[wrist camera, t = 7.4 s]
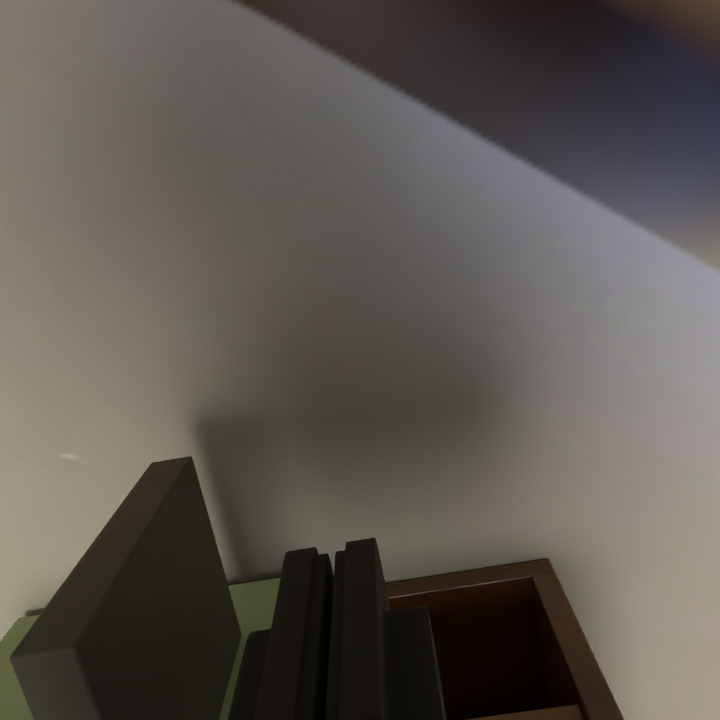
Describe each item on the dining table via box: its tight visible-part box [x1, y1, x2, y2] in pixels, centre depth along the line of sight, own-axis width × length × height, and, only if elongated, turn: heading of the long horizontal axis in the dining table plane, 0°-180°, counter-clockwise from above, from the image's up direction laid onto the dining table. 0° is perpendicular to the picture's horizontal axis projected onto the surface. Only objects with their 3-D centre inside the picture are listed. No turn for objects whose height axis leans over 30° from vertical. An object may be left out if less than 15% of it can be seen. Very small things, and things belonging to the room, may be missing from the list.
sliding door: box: [0, 457, 280, 720], centre depth 16 cm, size 7×10×11 cm
